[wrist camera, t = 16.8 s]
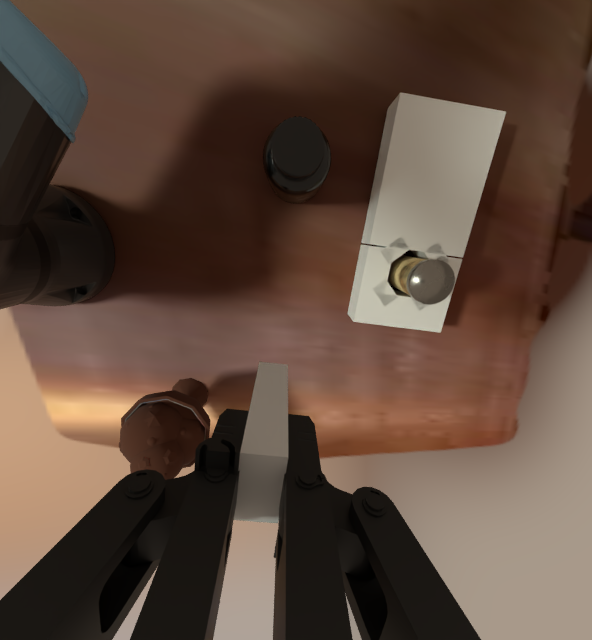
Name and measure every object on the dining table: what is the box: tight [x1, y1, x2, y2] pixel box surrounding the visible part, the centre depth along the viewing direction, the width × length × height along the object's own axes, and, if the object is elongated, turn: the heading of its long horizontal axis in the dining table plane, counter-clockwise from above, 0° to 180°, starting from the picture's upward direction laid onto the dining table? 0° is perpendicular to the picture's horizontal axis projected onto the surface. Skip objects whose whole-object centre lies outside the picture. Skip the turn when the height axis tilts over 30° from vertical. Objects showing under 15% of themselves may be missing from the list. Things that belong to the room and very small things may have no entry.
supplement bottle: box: [263, 116, 331, 203], centre depth 31 cm, size 7×7×12 cm
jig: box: [348, 92, 506, 333], centre depth 37 cm, size 12×26×4 cm, turn 172°
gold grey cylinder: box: [387, 255, 455, 305], centre depth 36 cm, size 5×5×10 cm
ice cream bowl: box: [119, 378, 210, 480], centre depth 38 cm, size 11×11×15 cm
